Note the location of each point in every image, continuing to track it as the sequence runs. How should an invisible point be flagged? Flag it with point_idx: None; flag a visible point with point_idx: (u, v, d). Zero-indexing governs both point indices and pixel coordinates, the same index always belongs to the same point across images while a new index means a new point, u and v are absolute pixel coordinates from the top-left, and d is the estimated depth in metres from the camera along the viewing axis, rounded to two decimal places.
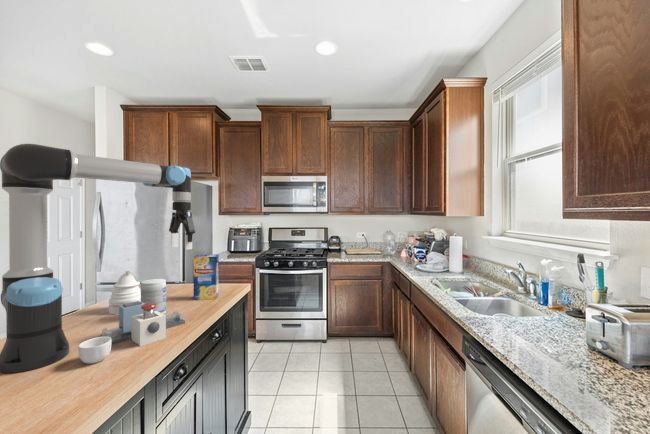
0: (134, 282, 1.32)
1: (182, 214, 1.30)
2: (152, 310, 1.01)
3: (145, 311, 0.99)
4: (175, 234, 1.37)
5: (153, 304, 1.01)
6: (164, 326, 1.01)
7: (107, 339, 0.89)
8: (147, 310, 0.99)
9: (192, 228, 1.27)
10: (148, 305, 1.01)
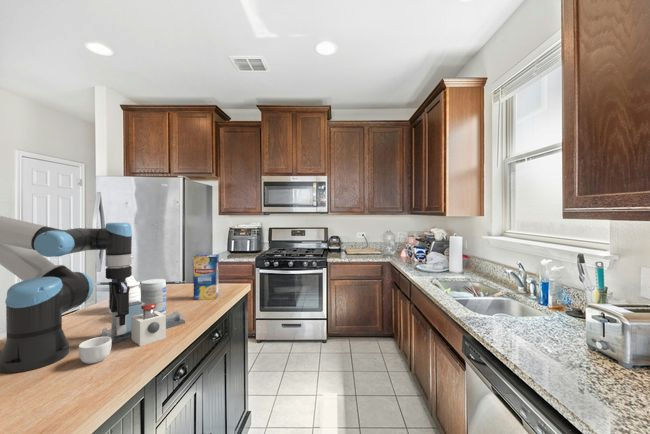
0: (134, 282, 1.32)
1: (118, 284, 1.00)
2: (152, 310, 1.01)
3: (145, 311, 0.99)
4: (117, 313, 1.04)
5: (153, 304, 1.01)
6: (164, 326, 1.01)
7: (107, 339, 0.89)
8: (147, 310, 0.99)
9: (125, 309, 0.99)
10: (148, 305, 1.01)
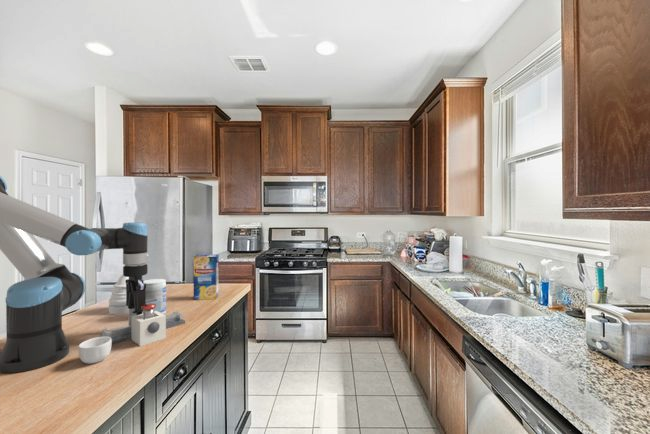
0: None
1: (135, 281, 1.04)
2: (152, 310, 1.01)
3: (145, 311, 0.99)
4: (133, 310, 1.08)
5: (153, 304, 1.01)
6: (164, 326, 1.01)
7: (107, 339, 0.89)
8: (147, 310, 0.99)
9: None
10: (148, 305, 1.01)
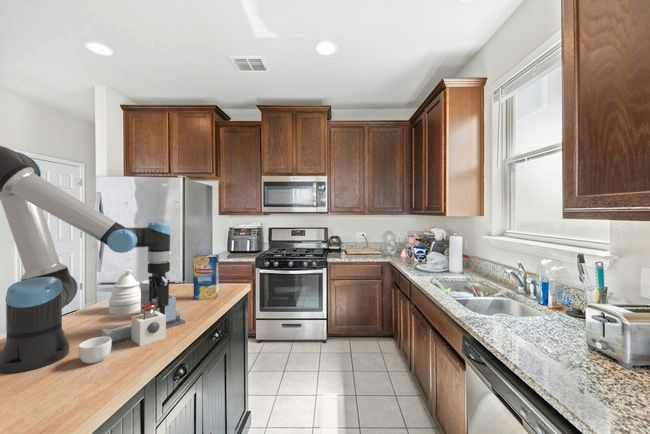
0: (134, 282, 1.32)
1: (159, 278, 1.10)
2: (152, 310, 1.01)
3: (145, 311, 0.99)
4: None
5: (153, 304, 1.01)
6: (164, 326, 1.01)
7: (107, 339, 0.89)
8: (147, 310, 0.99)
9: (165, 301, 1.09)
10: (148, 305, 1.01)
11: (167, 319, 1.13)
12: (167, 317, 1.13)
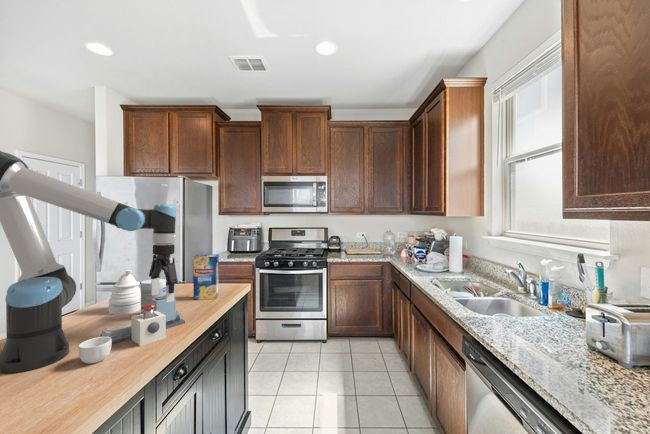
0: (134, 282, 1.32)
1: (163, 259, 1.11)
2: (152, 310, 1.01)
3: (145, 311, 0.99)
4: (156, 280, 1.18)
5: (153, 304, 1.01)
6: (164, 326, 1.01)
7: (107, 339, 0.89)
8: (147, 310, 0.99)
9: (174, 277, 1.08)
10: (148, 305, 1.01)
11: (167, 319, 1.13)
12: (167, 317, 1.13)
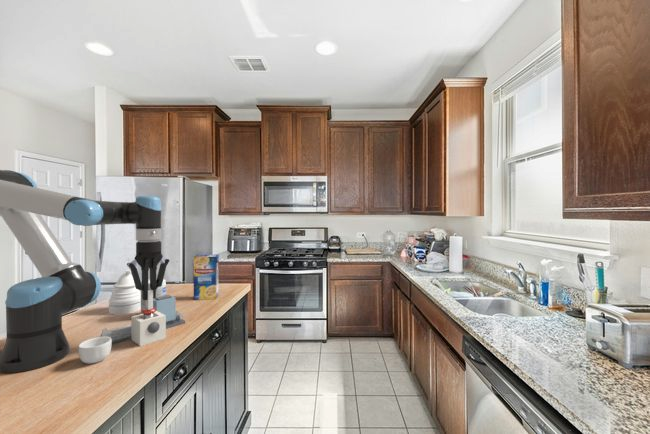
0: None
1: None
2: (152, 314, 1.01)
3: (145, 315, 0.99)
4: None
5: (153, 309, 1.01)
6: (164, 326, 1.01)
7: (107, 339, 0.89)
8: (147, 314, 1.00)
9: (136, 285, 0.98)
10: None
11: (167, 319, 1.13)
12: (167, 317, 1.13)
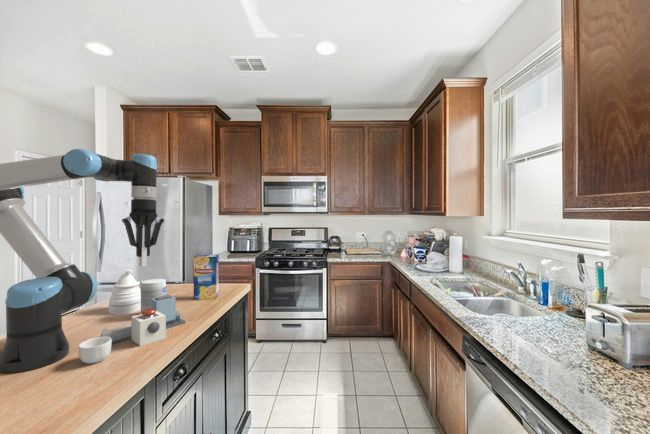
0: (134, 282, 1.32)
1: None
2: (152, 315, 1.01)
3: (145, 316, 0.99)
4: None
5: (153, 310, 1.01)
6: (164, 326, 1.01)
7: (107, 339, 0.89)
8: (147, 315, 1.00)
9: (130, 240, 0.99)
10: (148, 310, 1.01)
11: (167, 319, 1.13)
12: (167, 317, 1.13)
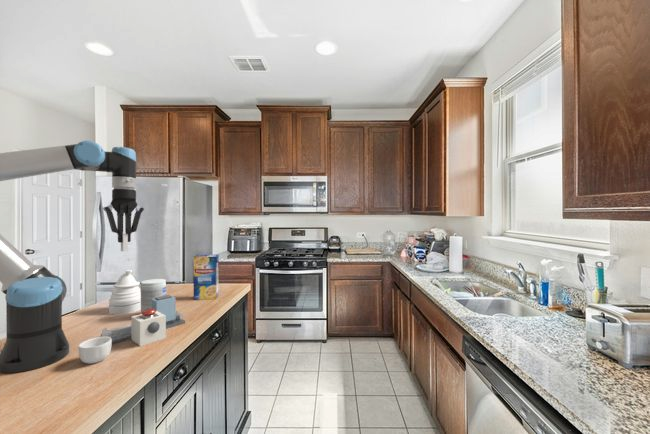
0: (134, 282, 1.32)
1: None
2: (152, 315, 1.01)
3: (145, 316, 0.99)
4: None
5: (153, 310, 1.01)
6: (164, 326, 1.01)
7: (107, 339, 0.89)
8: (147, 315, 1.00)
9: (111, 227, 1.07)
10: (148, 310, 1.01)
11: (167, 319, 1.13)
12: (167, 317, 1.13)
